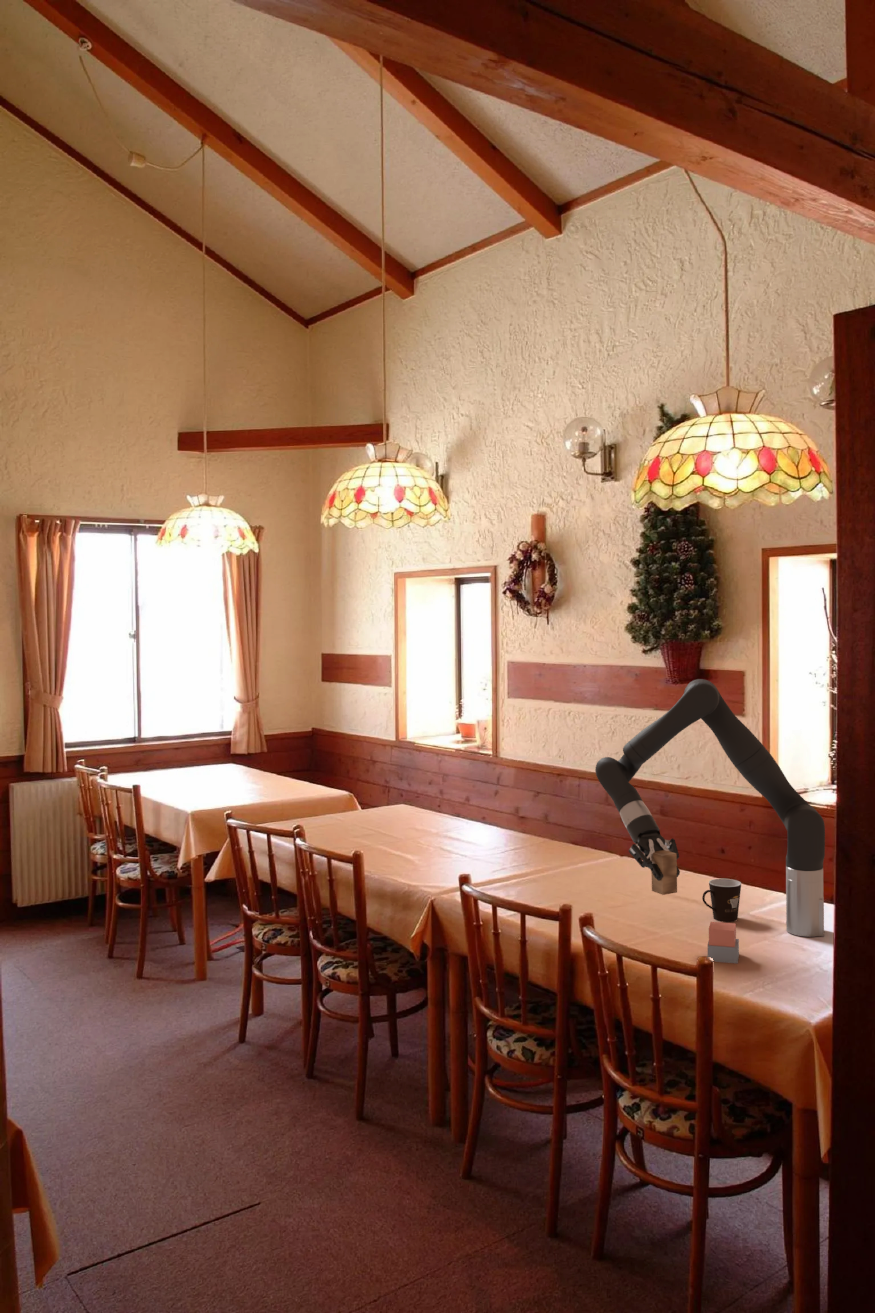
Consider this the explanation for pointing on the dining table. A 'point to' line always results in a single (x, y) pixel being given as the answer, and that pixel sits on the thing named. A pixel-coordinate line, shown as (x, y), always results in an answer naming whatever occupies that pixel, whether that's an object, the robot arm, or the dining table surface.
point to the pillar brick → (665, 872)
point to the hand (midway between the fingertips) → (669, 877)
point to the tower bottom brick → (724, 953)
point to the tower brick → (722, 934)
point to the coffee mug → (724, 899)
